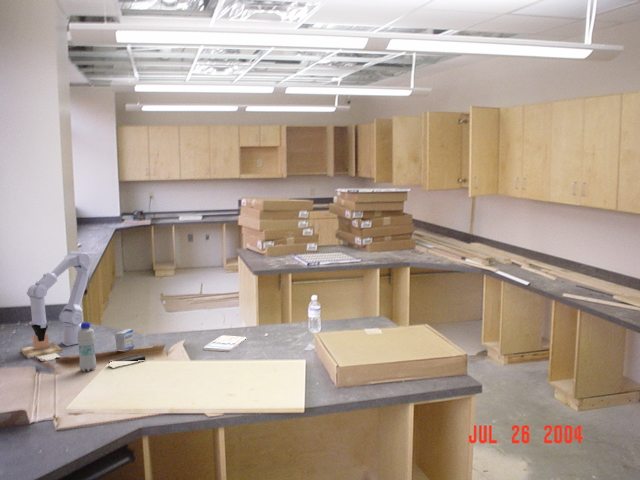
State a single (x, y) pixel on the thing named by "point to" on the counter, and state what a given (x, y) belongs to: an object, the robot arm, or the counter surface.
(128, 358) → the multiport hub
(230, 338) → the white book
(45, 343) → the peach cuboid
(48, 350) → the gold flat square frame
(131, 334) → the medicine box
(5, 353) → the counter surface
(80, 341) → the bottle
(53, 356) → the pad
